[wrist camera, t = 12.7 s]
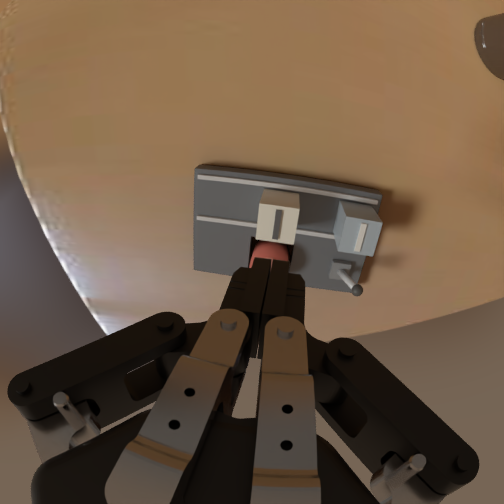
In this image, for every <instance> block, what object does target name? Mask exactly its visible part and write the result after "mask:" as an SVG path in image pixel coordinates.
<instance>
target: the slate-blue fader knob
mask: <svg viewBox="0 0 504 504" xmlns="http://www.w3.org/2000/svg"><path fill="white" fill-rule="evenodd" d="M382 224H383V222H382V221H381V219H380V218H379V216H378V215H377V213H376V211H375V210H374V208H373V207H372V206H370V205H365V204H359V203H354V202H348V201H343V200H340V201H339V205H338V210H337V215H336V220H335V224H334V229H333V233H334V237H335V242H336V246H337V250H338V251H339V252H346V253H353V254H359V255H366V256H372V257H373V254H374V251H375V248H376V245H377V241H378V238H379V234H380V231H381V227H382Z"/></svg>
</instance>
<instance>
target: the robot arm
mask: <svg viewBox="0 0 504 504" xmlns="http://www.w3.org/2000/svg"><path fill="white" fill-rule="evenodd" d="M475 43H476V47H477V50H478V53H479V55H480V57H481V59H482V61H483V62H484V64H485V65H486V67H487V68H488V69H489V70H490V71H491V72H492V73H493V74H494V75H495V76H497V77H498V78H500V79H503V80H504V13H502V14H498V15H494V16H490V17H486V18H483V19H481V20H480V21H479V22H478V23H477V25H476V28H475ZM271 262H272V266H271ZM289 263H290V261H283V260H275V259H273V261H272V259H267V258H259V257H254V261H253V264H252V267H251V268H247V267H240V268H239V269H238V270H236V271H235V272H234V273H233V275H232V278H231V281H230V283H229V286H228V289H227V291H226V294H225V296H224V299H223V302H222V304H221V307H220V310H218V311H216V312H214V313H213V314H212V315H211V316H210V318H209V319H208V321H205V322H201V323H187V324H185V320H184V319H183V317H181V316H180V315H179V314H176V313H173V312H161V313H158V314H155V315H153V316H151V317H148V318H146V319H144V320H142V321H139V322H137V323H135V324H133V325H130V326H128V327H126V328H124V329H121V330H119V331H117V332H115V333H112V334H110V335H108V336H105V337H103V338H101V339H99V340H97V341H94V342H92V343H89V344H87V345H85V346H83V347H80V348H78V349H76V350H73V351H71V352H69V353H67V354H64V355H62V356H59V357H57V358H55V359H52V360H50V361H48V362H45V363H43V364H41V365H38V366H36V367H33V368H31V369H29V370H26V371H24V372H22V373H19V374H17V375H16V376H15V377H14V378H13V379H12V380H11V381H10V384H9V386H8V397H9V399H10V401H11V402H12V403H13V404H14V406H15V407H16V408H17V409H18V410H19V411H20V413H21V415H22V416H23V417H24V418H25V419H26V420H27V423H28V426H29V429H30V432H31V435H32V438H33V441H34V444H35V446H36V449H37V452H38V454H39V457H40V459H41V462H42V464H41V465H40V467H39V468H38V469H37V471H36V472H35V474H34V476H33V479H32V483H31V497H32V504H439V503H440V502H441V501H442V500H443V498H444V497H445V496H447V495H449V494H451V493H452V492H454V491H456V490H458V489H459V488H461V487H462V486H464V485H466V484H468V483H469V482H471V481H472V480H473V479H474V478H475V476H476V475H477V473H478V469H479V459H478V456H477V454H476V452H475V451H474V450H473V449H472V448H471V447H470V446H469V445H468V444H467V443H466V442H465V441H464V440H463V439H462V438H461V437H460V436H459V435H457V434H456V433H455V432H454V431H453V430H452V429H451V428H450V427H449V426H448V425H447V424H446V423H445V422H444V421H443V420H442V419H440V418H439V417H438V416H437V415H436V414H435V413H434V412H433V411H432V410H431V409H430V408H429V407H427V405H425V404H424V403H423V402H422V401H421V400H420V399H419V398H418V397H417V396H416V395H415V394H414V393H412V391H411V390H409V389H408V388H407V387H406V386H405V385H404V384H403V383H402V382H401V381H400V380H399V379H398V378H396V377H395V376H394V375H393V374H392V373H391V372H390V371H389V370H388V369H387V368H386V367H385V366H383V364H381V363H380V362H379V361H378V360H377V359H376V358H375V357H374V356H373V355H372V354H371V353H370V352H369V351H367V350H366V349H365V348H364V347H363V346H362V345H361V344H360V343H358V342H357V341H355V340H353V339H350V338H336V339H334V340H332V341H331V342H329V344H328V343H326V342H323V341H320V340H318V339H316V338H314V337H312V336H311V335H310V334H309V333H308V332H307V330H306V329H305V326H304V310H305V281H304V279H303V278H302V276H301V274H293V273H289ZM258 344H259V348H258ZM257 349H258V357H257V358H258V359H261V367H260V375H259V385H258V396H257V407H256V417H255V418H245V419H237V418H233V417H232V413H233V409H234V406H235V404H236V400H237V398H238V395H239V392H240V388H241V386H242V383H243V380H244V377H245V373H246V368H247V366H248V362H249V358H250V357H251V358H256V354H257ZM152 360H154V361H152ZM150 361H152V362H150ZM148 362H150V363H148ZM146 363H148V364H146ZM144 364H146V365H144ZM142 365H144V366H142ZM140 366H142V367H140ZM138 367H140V368H138ZM136 368H138V369H136ZM134 369H136V370H134ZM132 370H134V371H132ZM130 371H132V372H130ZM128 372H130V373H128ZM127 373H128V374H127ZM155 401H156V402H155ZM153 402H155V404H154V406H153V408H152V409H149V410H146V411H144V412H141V413H139V414H137V415H136V416H134V417H132V418H130V419H128V420H126V421H124V422H123V423H121V424H119V425H117V426H115V427H113V428H111V429H110V430H108V431H106V432H104V433H102V434H100V432H101V428H103V427H105V426H107V425H109V424H111V423H114V422H116V421H117V420H120V419H122V418H124V417H126V416H128V415H129V414H132V413H133V412H135V411H137V410H139V409H141V408H143V407H145V406H147V405H149V404H151V403H153ZM315 409H316V410H317V411H318V412H319V414H320V415H321V416H322V417H323V418H324V419H325V421H326V422H327V423H328V424H329V425H330V426H331V428H332V429H333V430H334V431H335V432H336V433H337V435H338V436H339V437H340V438H341V439H342V440H343V441H344V443H346V445H347V446H348V447H349V448H350V449H351V450H352V452H353V453H354V454H355V455H356V456H357V457H358V458H359V459H360V460H361V462H362V463H363V464H364V465H365V466H366V467H367V468H368V469H369V470H370V471H371V472H372V473H373V475H372V477H371V480H370V488H371V491H372V493H373V494H374V496H375V497H376V498H375V497H374V496H373V495H372V494H371V492H370V491H369V490H368V489H367V487H366V486H365V485H364V484H363V483H362V482H361V480H360V479H359V478H358V477H357V475H356V474H355V473H354V472H353V471H352V469H351V468H350V467H349V466H348V464H347V463H346V462H345V461H344V459H343V458H342V457H341V456H340V454H339V453H338V452H337V451H336V449H335V448H334V447H333V446H332V445H331V444H330V443H329V442H328V441H326V440H325V439H324V438H322V437H320V436H319V435H317V434H316V417H315Z"/></svg>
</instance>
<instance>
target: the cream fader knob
mask: <svg viewBox="0 0 504 504" xmlns="http://www.w3.org/2000/svg"><path fill="white" fill-rule="evenodd" d="M299 211H300V203H299V193H293V192H286V191H279V190H271V189H264V191H263V194H262V197H261V200H260V203H259V212H258V221H257V230H256V239H257V240H264V241H271V242H278V243H285V244H292V245H294V240H295V234H296V228H297V223H298V217H299Z"/></svg>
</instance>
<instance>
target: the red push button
mask: <svg viewBox="0 0 504 504" xmlns="http://www.w3.org/2000/svg"><path fill="white" fill-rule="evenodd" d="M254 257H259V258H267V259H272V261H273V259H275V260H283V261H288V258H289V250H288V247H287V245H286V244H285V243H278V242H271V241H264V240H259V241H258V242H257V243H256V245H255V247H254V250H253V254H252V258H251V262H250V266H249V268H251V267H252V264H253V261H254ZM271 266H272V262H271Z"/></svg>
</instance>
